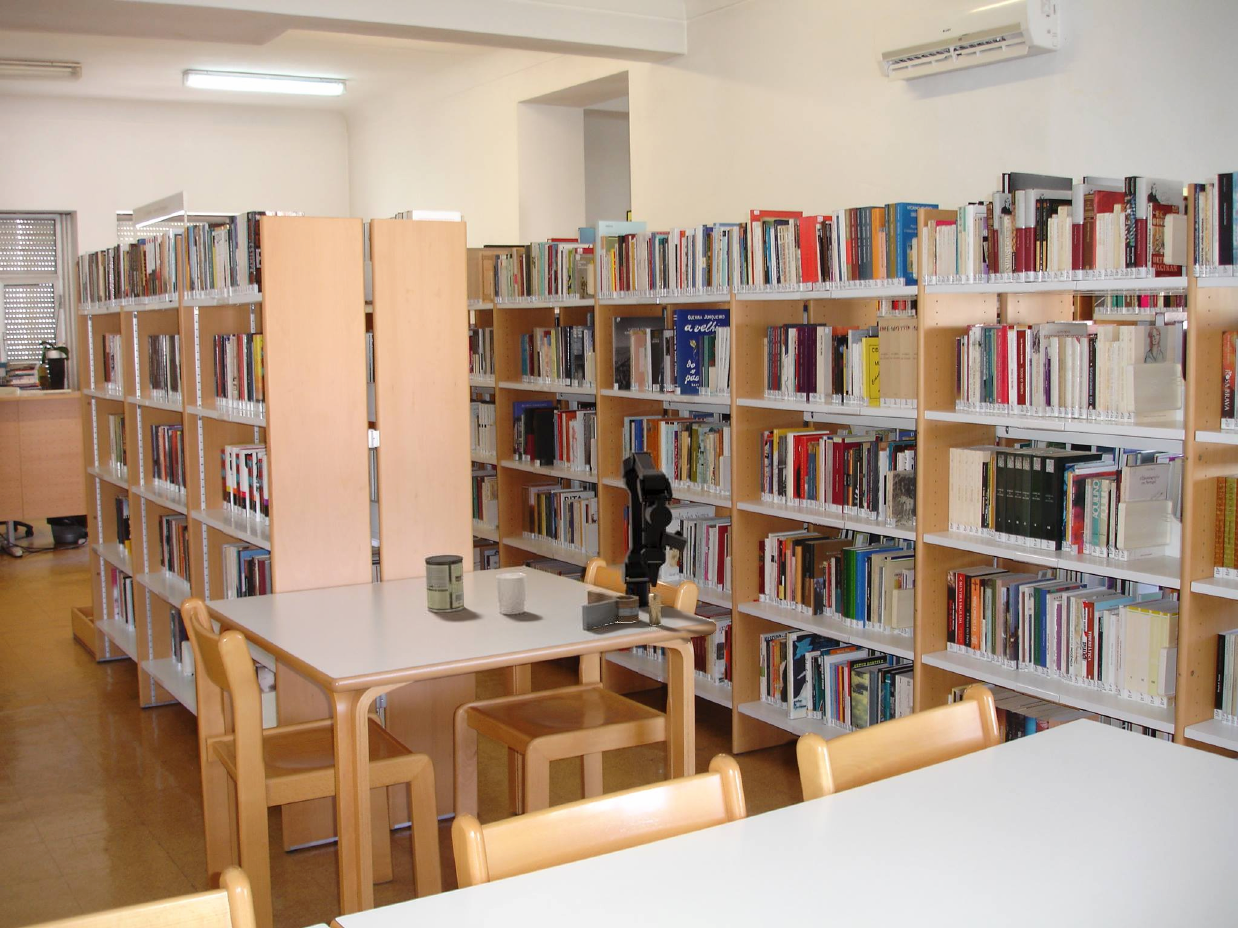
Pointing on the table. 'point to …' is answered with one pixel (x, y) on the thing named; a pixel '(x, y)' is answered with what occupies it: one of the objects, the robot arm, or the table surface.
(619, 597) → the tan hinge leaf
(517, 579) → the white cup
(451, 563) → the coffee can
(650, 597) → the brass pin
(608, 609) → the slate leaf
